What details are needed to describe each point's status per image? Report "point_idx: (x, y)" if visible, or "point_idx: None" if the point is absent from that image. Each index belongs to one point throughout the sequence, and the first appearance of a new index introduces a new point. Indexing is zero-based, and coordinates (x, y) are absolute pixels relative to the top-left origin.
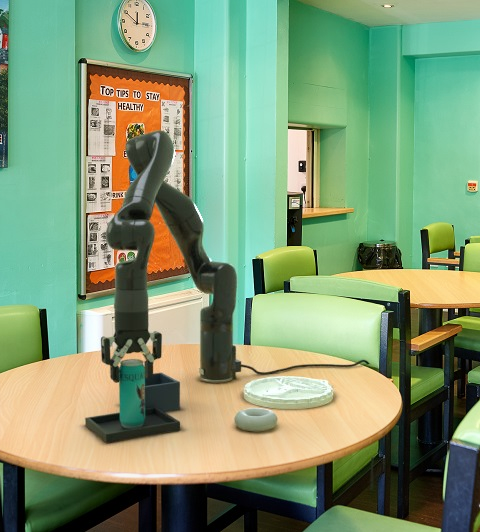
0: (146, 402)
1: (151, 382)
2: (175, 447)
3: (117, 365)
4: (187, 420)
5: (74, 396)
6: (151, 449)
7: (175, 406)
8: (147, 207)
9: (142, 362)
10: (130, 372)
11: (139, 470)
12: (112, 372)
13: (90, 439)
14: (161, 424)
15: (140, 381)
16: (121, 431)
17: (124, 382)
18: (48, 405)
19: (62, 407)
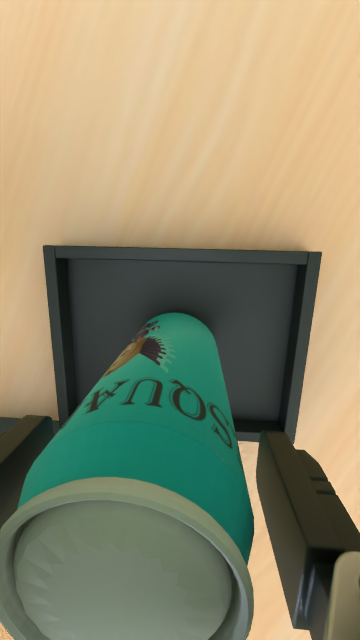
0: None
1: None
2: (135, 87)
3: (338, 565)
4: (7, 323)
5: None
6: (213, 113)
7: (1, 424)
8: None
9: (11, 521)
10: (194, 432)
11: None
12: (343, 508)
13: (329, 314)
14: (111, 251)
15: (123, 374)
16: (263, 253)
17: (226, 414)
18: (285, 611)
19: (263, 583)
